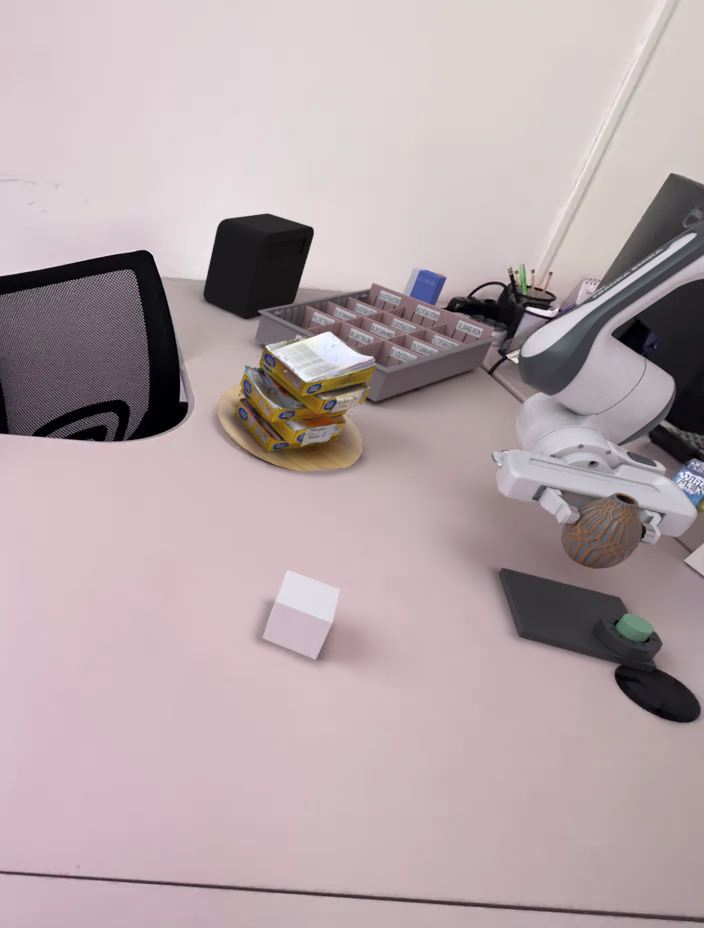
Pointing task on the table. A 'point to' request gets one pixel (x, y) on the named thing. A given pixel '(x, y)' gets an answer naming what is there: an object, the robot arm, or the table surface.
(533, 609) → the scale
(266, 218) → the air purifier
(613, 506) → the vase
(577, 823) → the table surface
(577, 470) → the robot arm
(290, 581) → the white cube
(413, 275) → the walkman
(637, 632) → the button
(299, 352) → the stacked yellow boxes
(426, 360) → the organizer tray
